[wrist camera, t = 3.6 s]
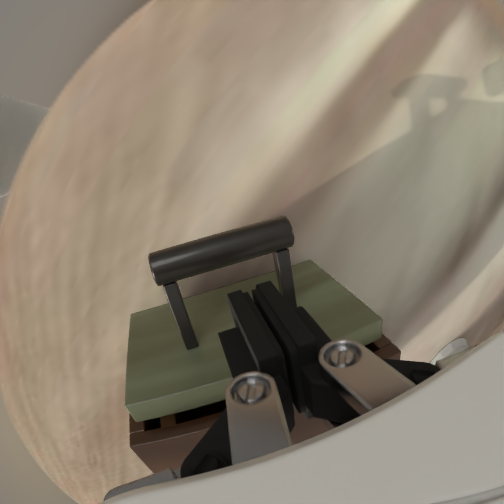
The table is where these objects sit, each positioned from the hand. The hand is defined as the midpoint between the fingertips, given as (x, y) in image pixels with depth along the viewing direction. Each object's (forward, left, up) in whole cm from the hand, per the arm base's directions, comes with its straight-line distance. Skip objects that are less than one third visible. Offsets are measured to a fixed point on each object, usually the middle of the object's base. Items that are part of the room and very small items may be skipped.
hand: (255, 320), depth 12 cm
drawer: (+6, 0, -7) cm, 10 cm away
